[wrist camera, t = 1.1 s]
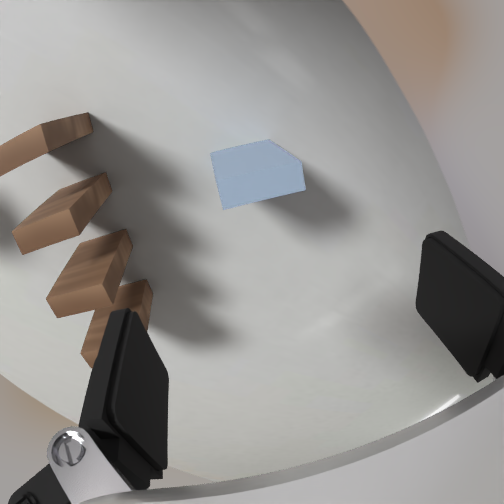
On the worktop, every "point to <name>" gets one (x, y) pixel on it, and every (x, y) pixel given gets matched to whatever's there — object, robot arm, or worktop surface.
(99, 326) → the tile
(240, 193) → the tile
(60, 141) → the tile
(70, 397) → the worktop surface
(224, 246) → the worktop surface
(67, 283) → the tile
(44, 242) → the tile
